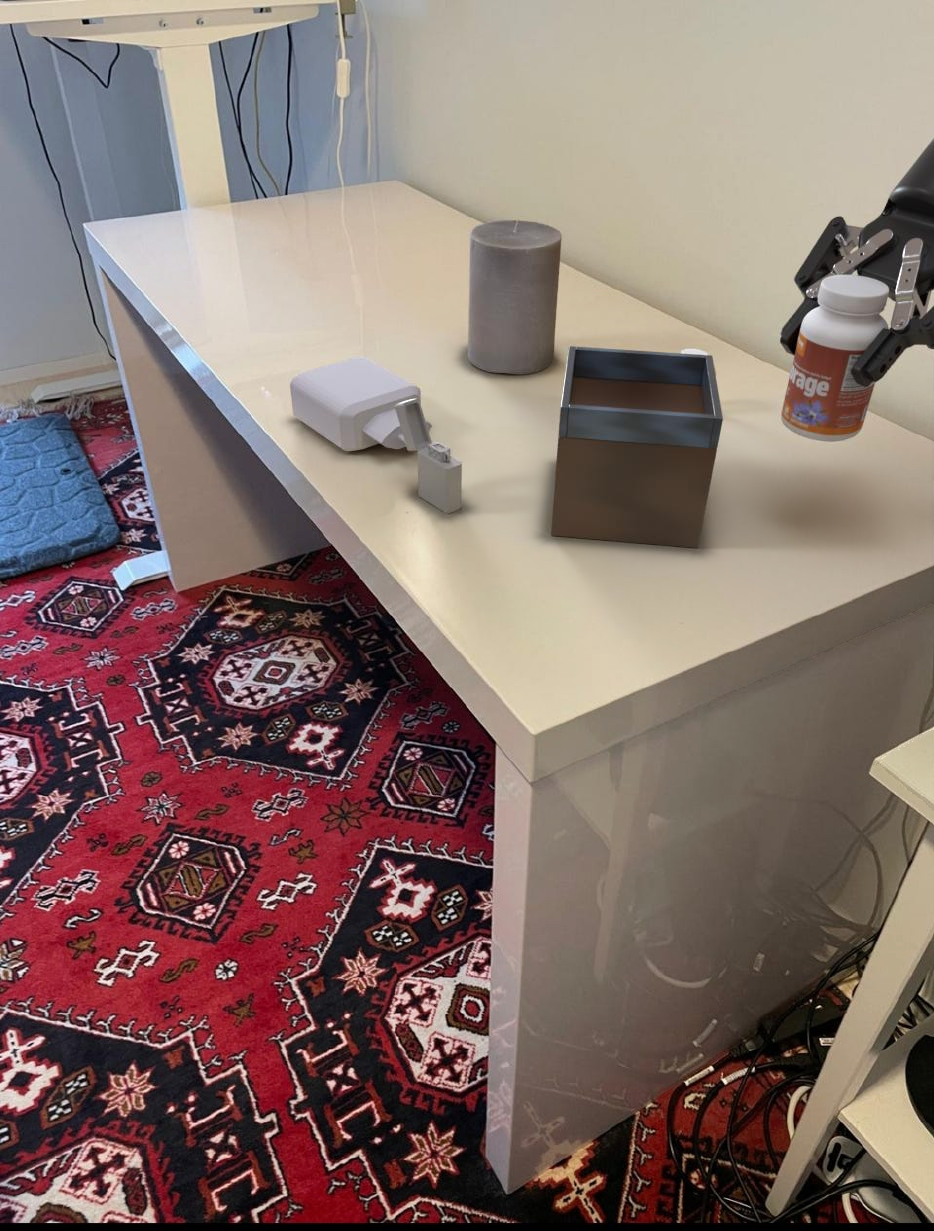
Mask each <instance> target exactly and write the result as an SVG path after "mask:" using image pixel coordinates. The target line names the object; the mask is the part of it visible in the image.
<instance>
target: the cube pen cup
mask: <svg viewBox="0 0 934 1231" xmlns="http://www.w3.org/2000/svg"><path fill="white" fill-rule="evenodd" d="M714 366H715V363H714V358H713V355H711V354H708V355H697V354H682V353H681V352H680V353H679V352H666V351H665V352H664V351H650V350H635V349H633V350H632V349H621V348H620V349H619V348H603V347H590V346H589V347H587V346H572V345H569V346H568V351H567V358H566V365H565V372H564V379H563V388H562V394H561V401H560V402H561V403H560V411H559V412H560V413H559V424H558V435H557V436H558V437H557V439H558V440H557V450H556V464H555V473H554V476H555V477H554V485H553V486H554V487H553V499H552V510H551V511H552V512H551V513H552V514H551V523H550V536H553V537H563V538H575V539H588V540H598V541H599V540H600V541H610V542H611V541H612V542H622V543H635V544H644V545H645V544H647V545H656V546H657V545H658V546H659V545H660V546H668V547H669V546H671V547H681V548H682V547H683V548H692V549H693V548H694V549H698V548H699V547H700V546H699V545H700V541H701V535H702V528H703V525H704V519H705V514H706V509H707V504H708V498H709V493H710V488H711V483H712V478H713V473H714V467H715V463H716V458H717V453H718V452H717V451H718V447H719V442H720V437H721V431H722V426H723V421H724V417H723V411H722V405H721V399H720V392H719V388H718V380H717V373H716V374H715V370H716V368H715V369H714Z"/></svg>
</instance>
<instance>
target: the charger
mask: <svg viewBox="0 0 934 1231" xmlns="http://www.w3.org/2000/svg"><path fill="white" fill-rule="evenodd" d="M289 389H290V390H289V391H290V399H291V409H292V415H293V417H295V418H296V419H298V420H299V421H300V422H302V423H304V424H305V425H306V426H308V427H309V428H310V429H313V430H314V431H315V432H317V433H318V434H319V435H321V436H322V437H324V438H325V439H327V440H328V441H330V442H331V443H333V444H334V445H335V446H337V447H339V449H342V451H345V452H355V451H360V450H364V449H367V448H370V447H373V446H376V445H378V444H381V446H384V447H385V448H388V449H394V450H400V449H403V448H405V447H406V444H405V440H404V437H403V433H402V430H401V427H400V423H399V420H398V417H397V413H396V410H395V405H396V404H398V403H401V402H404V401H407V400H411V399H416V398H417V399H419V401H420V404H422V398H421V396H422V395H421V392H422V391H421V388H420V387H418V385H415V384H413V383H411V382H409V381H408V380H406V379H404V378H403V377H401V376H399V375H397V374H396V373H394V372H392V371H390V370H389V369H387V368H385V367H383V366H382V365H380V364H378V363H377V362H375V361H372V360H371V359H369V358H367V357H365V356H357V357H352V358H349V359H345V360H342V361H339V362H335V363H331V364H328V365H324V366H321V367H317V368H314V369H310V370H307V371H303V372H301V373H298V374H297V375H296V376H294V377H293V378H292V379H291V381H290V382H289ZM425 422H426V425H427V428H428V432H429V433H430V431H431V429H432V427H433V425H432V424H431V423H430V422H429V421H428V420H425ZM406 448H407V447H406Z"/></svg>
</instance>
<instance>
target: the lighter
mask: <svg viewBox="0 0 934 1231" xmlns="http://www.w3.org/2000/svg"><path fill="white" fill-rule="evenodd" d="M421 404H422V403H421ZM421 404H420V401H419V399H417V398H416V399H411V400H407V401H404V402H401V403H398V404H396V405H395V410H396V413H397V417H398V420H399V423H400V427H401V430H402V433H403V437H404V440H405V444H406V450H407V451H408V452H417V486H418V487H417V490H418V491H417V493H418V495H417V496H418V497H420V498H421V499H423V500H424V501H426V502H428V503H429V504H430V505H432V506H434V507H435V508H437V509H438V510H440V511H441V512H443V514H447V515H448V514H449V515H450V514H451V513H454V512H456V511H458V510H460V509H462V498H463V497H462V492H463V490H462V488H463V487H462V486H463V485H462V484H463V482H462V481H463V462H462V461H460V460H458V459H457V458H455V457H453V456H452V455H451V448H450V447H449V446H447V445H445V444H443V443H442V442H440V441H439V440H436V441H432V439H431V437H430V431H429V432H428V428H427V425H426V422H425V421H426V419H425V415H424V411H423V409H422V405H421Z"/></svg>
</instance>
